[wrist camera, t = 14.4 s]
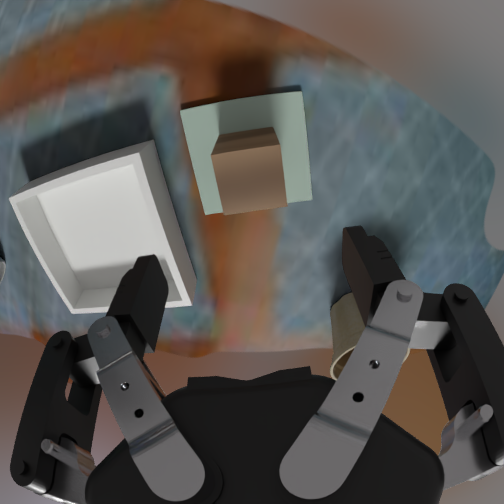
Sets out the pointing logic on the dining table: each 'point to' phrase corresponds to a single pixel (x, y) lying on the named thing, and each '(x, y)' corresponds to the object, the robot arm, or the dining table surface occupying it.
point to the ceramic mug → (2, 269)
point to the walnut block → (249, 171)
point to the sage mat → (247, 118)
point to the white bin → (105, 227)
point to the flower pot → (345, 332)
